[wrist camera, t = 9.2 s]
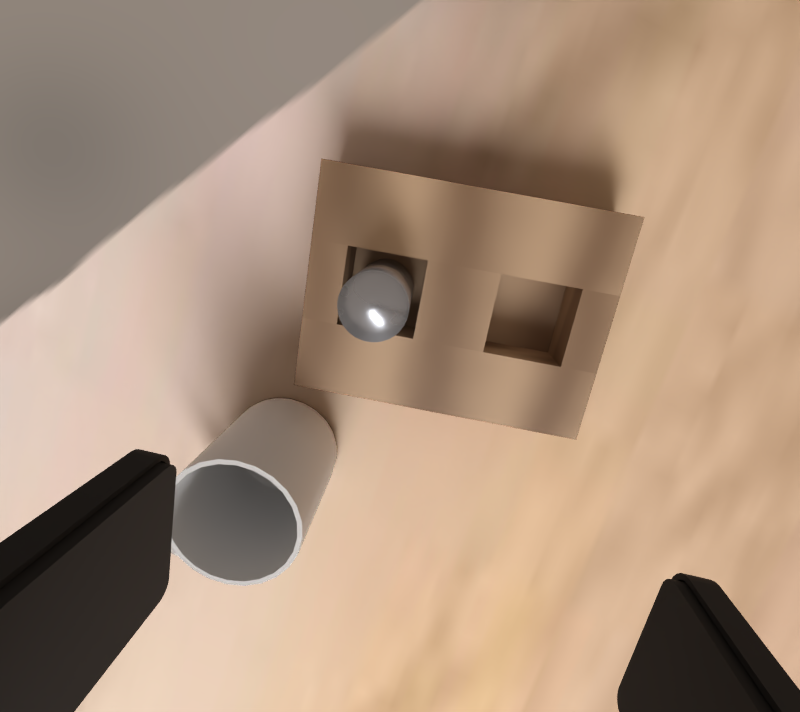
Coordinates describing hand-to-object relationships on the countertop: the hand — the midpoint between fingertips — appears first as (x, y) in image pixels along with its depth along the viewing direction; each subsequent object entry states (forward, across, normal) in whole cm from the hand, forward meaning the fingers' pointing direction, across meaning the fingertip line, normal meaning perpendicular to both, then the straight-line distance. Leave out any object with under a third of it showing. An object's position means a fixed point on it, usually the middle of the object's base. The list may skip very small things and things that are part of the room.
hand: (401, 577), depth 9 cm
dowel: (+20, +3, -3) cm, 20 cm away
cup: (+21, +9, +10) cm, 25 cm away
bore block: (+21, -1, -3) cm, 21 cm away
